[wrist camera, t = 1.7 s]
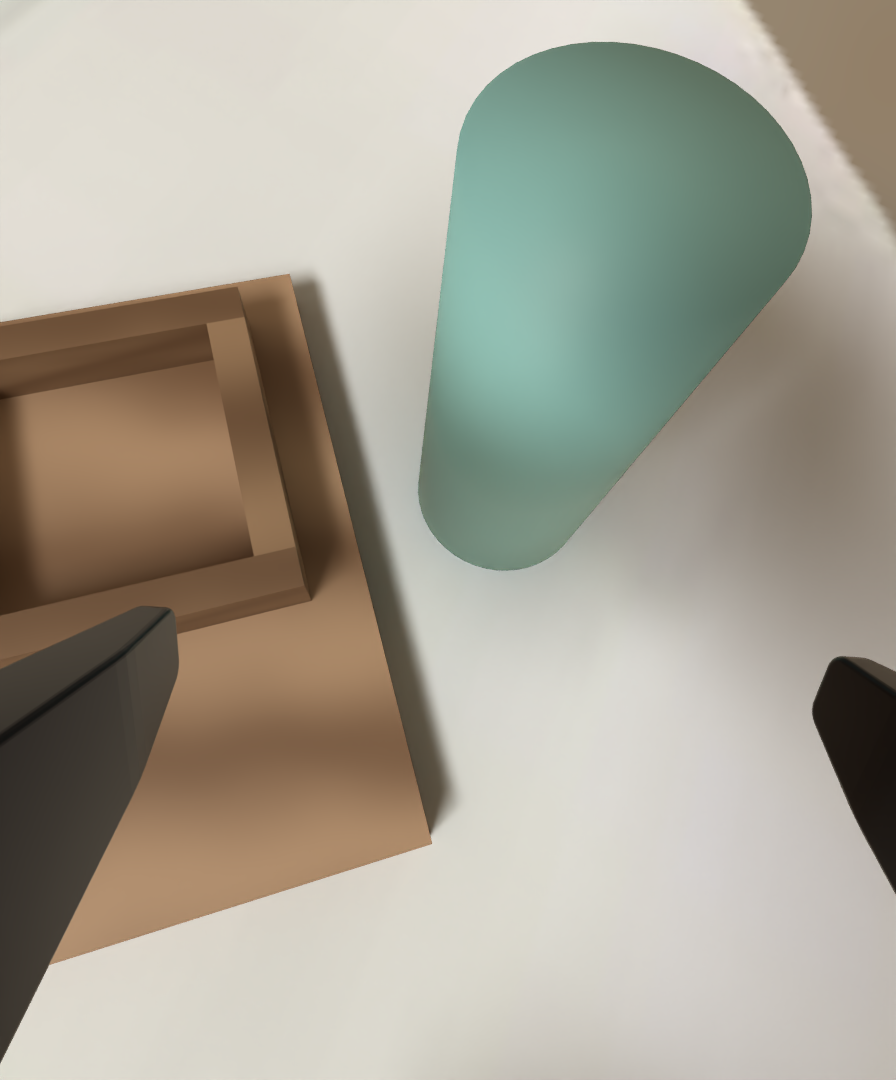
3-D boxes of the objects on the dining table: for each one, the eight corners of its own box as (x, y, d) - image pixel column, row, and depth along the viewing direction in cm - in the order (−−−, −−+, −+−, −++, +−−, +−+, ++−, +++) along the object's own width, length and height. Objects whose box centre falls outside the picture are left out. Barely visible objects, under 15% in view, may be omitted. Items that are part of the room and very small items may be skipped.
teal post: (610, 475, 25) (865, 155, 12) (525, 603, 23) (713, 399, 10) (477, 388, 26) (575, -8, 12) (384, 507, 24) (382, 194, 11)
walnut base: (429, 837, 21) (437, 853, 17) (-64, 992, 18) (-164, 1045, 15) (294, 300, 26) (281, 233, 23) (-98, 368, 24) (-177, 305, 20)
